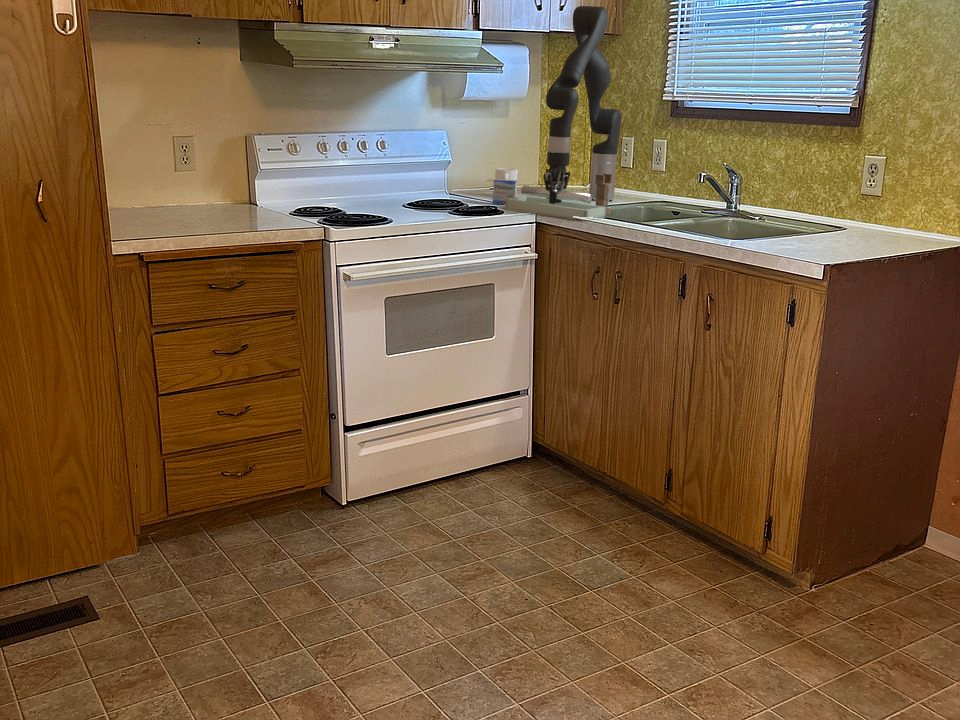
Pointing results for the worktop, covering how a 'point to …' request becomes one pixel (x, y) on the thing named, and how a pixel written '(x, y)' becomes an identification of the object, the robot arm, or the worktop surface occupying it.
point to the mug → (506, 174)
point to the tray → (554, 207)
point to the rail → (557, 194)
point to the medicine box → (503, 190)
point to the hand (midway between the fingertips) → (555, 202)
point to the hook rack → (601, 190)
